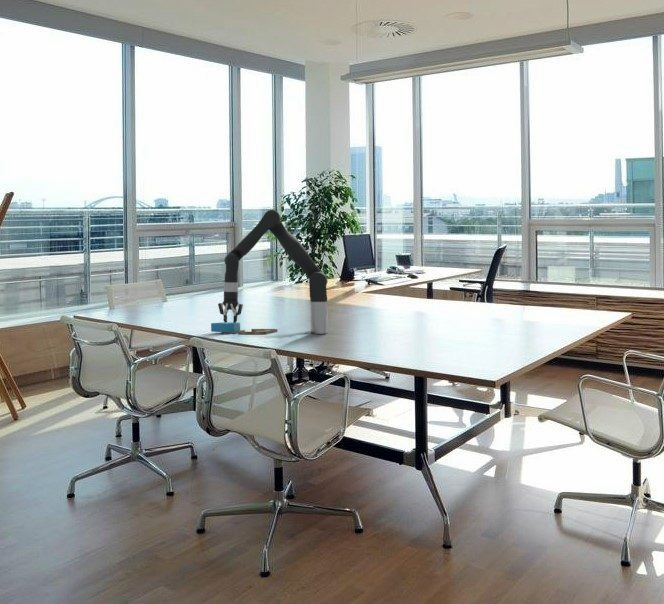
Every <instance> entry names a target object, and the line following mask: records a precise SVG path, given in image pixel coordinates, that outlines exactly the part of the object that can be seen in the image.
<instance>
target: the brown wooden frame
mask: <svg viewBox="0 0 664 604" xmlns="http://www.w3.org/2000/svg"><path fill="white" fill-rule="evenodd" d="M266 330H269V331H266ZM256 331H265V332H256ZM277 332H278V329H277V328H251V331H245V332H238V336H239V335H243V336H244V335H247V336H248V335H251V336H252V335H255V336H256V335H257V336H258V335H259V336H265V335H269V334H273V333H277Z"/></svg>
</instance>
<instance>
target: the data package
mask: <svg viewBox="0 0 664 604" xmlns="http://www.w3.org/2000/svg"><path fill="white" fill-rule="evenodd" d="M240 330H241V322H238V321H237V322H236V323H233V322H231V321H227V322H224V321H223V322H211V323H210V332H212V333H221V332H236V331H240Z"/></svg>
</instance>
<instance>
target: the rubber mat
mask: <svg viewBox="0 0 664 604" xmlns="http://www.w3.org/2000/svg"><path fill="white" fill-rule="evenodd" d="M238 332H246V330H245V329H243V330H242V329H240V331H236V332H220V334H221V335H237V334H238Z"/></svg>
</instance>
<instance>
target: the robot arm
mask: <svg viewBox="0 0 664 604" xmlns="http://www.w3.org/2000/svg"><path fill="white" fill-rule="evenodd" d="M286 228H287V227H285V225H284V224H283V222H282V220H281V215H280V213H279V212H278V211H277V210H276V209H270V210H269V209H268V210H267V211H266V212H264V214H263V215H262V217H261V219H260V220H259V221H258V223H257V224H256V225H255V226H254V228H252V230H251V231H250V232H249V233H248V234H246V236H245V237H244V238H243V239H242V240H240V241H239V243H238V244H237V245H236V246H235V247H234V248H233V249H232V250H231V251H230V252H228V254H226V256H225V257H224V260H223V261H224V264H225V273H224V284H223V301H222V302H220V303H218V304H217V305H218V310H219V314H220V315H223V322H228V312H229V311H230V310H231V311H232V313H233V323H236V322H237V323H238V316H239V315H241V314H242V311H243V307H244V304H243V303H239V301H238V299H239V285H238V283H239V282H238V278H239V277H238V274H239V272H238V271H239V264H240V261H241V259H242V258H243V257H245V256H246V255H247V254H249V253H250V251H252V249H254V247H256V245H257V243H258V242H259V241H260V240H261V238H262V237H263V236H264V235H265V234H266V233H267V232H268V231H270V233H272V235H273V236H275V238H276V239H277V241H278V242H279V244H280V246H281V247H282V249H283V250H284V251H285V253H286V254H287V255H288V257H289V258H290V259H291V260H292V261H293V262H294V264H295V265H297V266H298V267H299V268H300V269H301V270H302V271H303V272H304V273H305V275H306V277H307V278H308V279H309V281H308V282H309V283H308V284H309V285H308V286H309V297H310V298H309V300H310V307H309V309H310V333H311V334H314V335H315V334H317V335H318V334H322V335H323V334H329V333H330V323H329V322H330V321H329V320H330V319H329V318H330V317H329V316H330V315H328V314H329V313H328V292H327V286H328V285H327V284H328V276H327V274H325V272H323V271H322V270H321V269H320V268H319V267H318V265H317V264H316V263H315V262H314V260H313V259H312V257H311V255H310V254H309V252H308V251H307V250H306V249H305V247H304V246H303V244H302V243H301V242H300V241H299V240H298V239H297V237H295V235H293V234H292V233H291V232H290V231H289V230H287V229H286ZM237 308H238V309H237ZM328 332H329V333H328Z"/></svg>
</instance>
